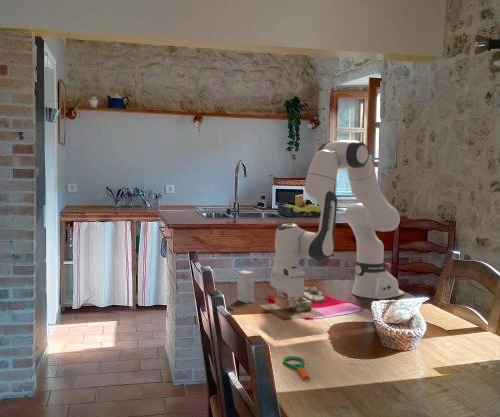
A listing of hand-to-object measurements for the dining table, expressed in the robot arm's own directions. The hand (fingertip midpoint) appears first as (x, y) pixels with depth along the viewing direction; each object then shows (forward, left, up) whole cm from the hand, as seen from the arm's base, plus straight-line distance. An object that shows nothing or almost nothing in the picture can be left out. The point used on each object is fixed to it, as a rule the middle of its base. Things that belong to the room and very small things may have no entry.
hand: (285, 303), depth 199 cm
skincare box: (+7, -21, -4) cm, 23 cm away
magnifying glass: (+21, +47, -4) cm, 51 cm away
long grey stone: (-18, -22, -4) cm, 29 cm away
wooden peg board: (-2, +1, -4) cm, 4 cm away
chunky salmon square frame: (0, 0, -1) cm, 1 cm away
